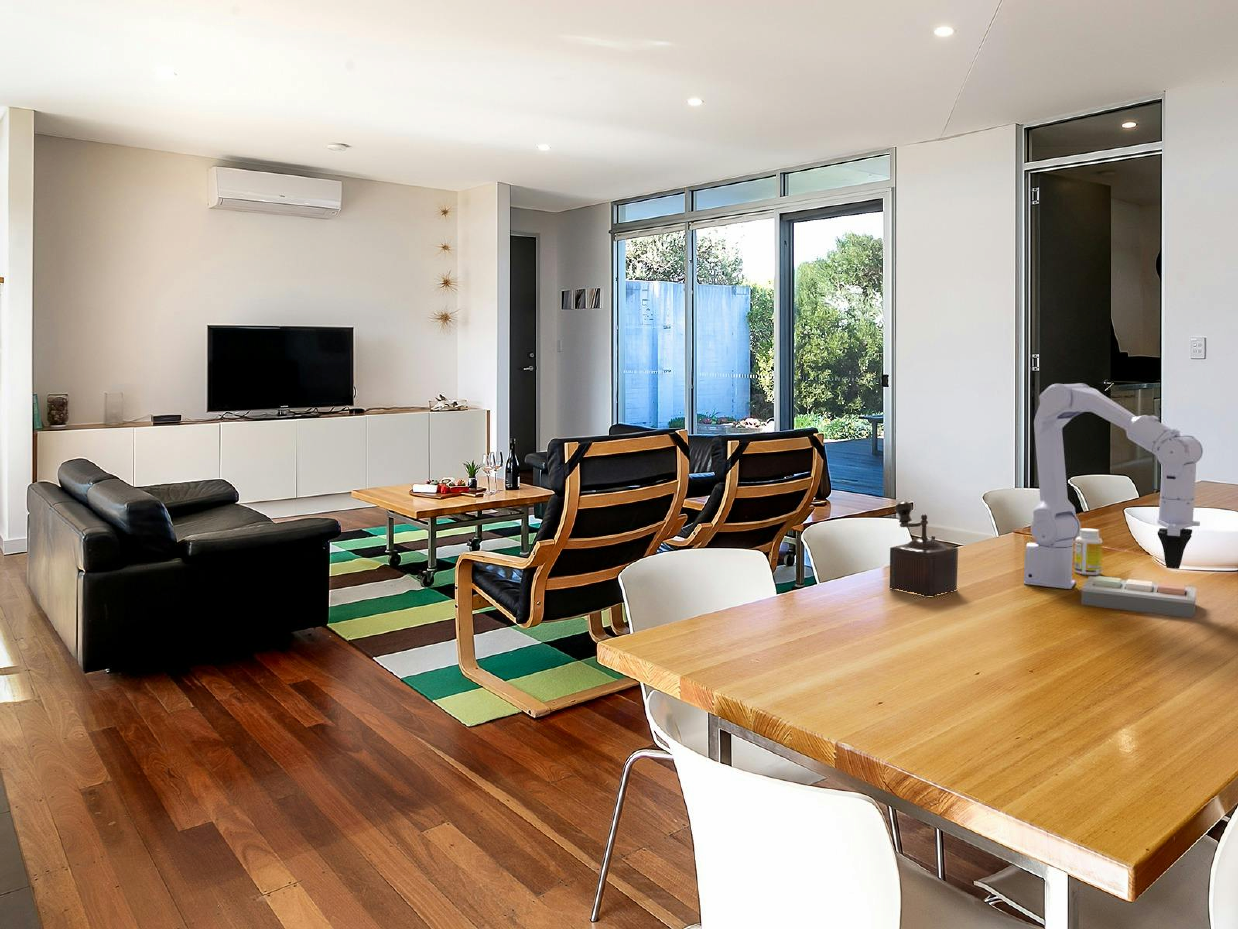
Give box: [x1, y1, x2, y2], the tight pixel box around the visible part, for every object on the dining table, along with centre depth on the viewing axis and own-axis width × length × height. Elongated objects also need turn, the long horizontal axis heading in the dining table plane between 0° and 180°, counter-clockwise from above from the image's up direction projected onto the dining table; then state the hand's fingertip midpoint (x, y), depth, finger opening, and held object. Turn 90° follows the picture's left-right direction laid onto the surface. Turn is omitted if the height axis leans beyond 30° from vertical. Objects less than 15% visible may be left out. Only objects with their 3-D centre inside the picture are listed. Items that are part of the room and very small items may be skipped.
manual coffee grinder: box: [889, 501, 959, 597], centre depth 197 cm, size 16×11×18 cm
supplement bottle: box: [1074, 527, 1103, 576], centre depth 210 cm, size 6×6×10 cm
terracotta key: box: [1158, 582, 1186, 596], centre depth 179 cm, size 4×4×2 cm
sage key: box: [1094, 575, 1122, 588], centre depth 185 cm, size 4×4×2 cm
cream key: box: [1126, 578, 1154, 592], centre depth 182 cm, size 4×4×2 cm
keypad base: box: [1080, 576, 1197, 619], centre depth 182 cm, size 19×12×3 cm, turn 57°
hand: (1173, 566), depth 179 cm, fingers open, 3 cm apart
